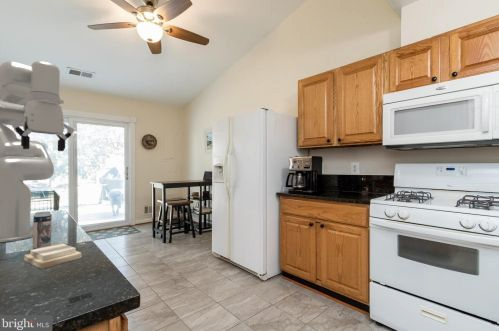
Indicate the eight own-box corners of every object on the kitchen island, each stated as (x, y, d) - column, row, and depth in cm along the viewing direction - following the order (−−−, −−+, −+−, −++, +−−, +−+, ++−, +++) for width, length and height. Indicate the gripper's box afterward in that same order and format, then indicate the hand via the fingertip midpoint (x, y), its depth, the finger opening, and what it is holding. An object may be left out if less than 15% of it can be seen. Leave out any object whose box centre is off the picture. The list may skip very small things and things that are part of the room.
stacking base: (23, 260, 73) (24, 250, 73) (62, 250, 82) (62, 241, 82) (41, 269, 67) (41, 258, 67) (81, 257, 76) (81, 248, 76)
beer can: (40, 250, 82) (41, 214, 83) (28, 248, 83) (29, 213, 84) (54, 245, 87) (55, 211, 87) (43, 244, 88) (44, 210, 88)
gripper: (68, 107, 94) (67, 152, 93) (7, 95, 79) (5, 148, 78) (78, 104, 90) (78, 151, 90) (16, 91, 75) (14, 147, 75)
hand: (44, 150), depth 84 cm, fingers open, 9 cm apart
